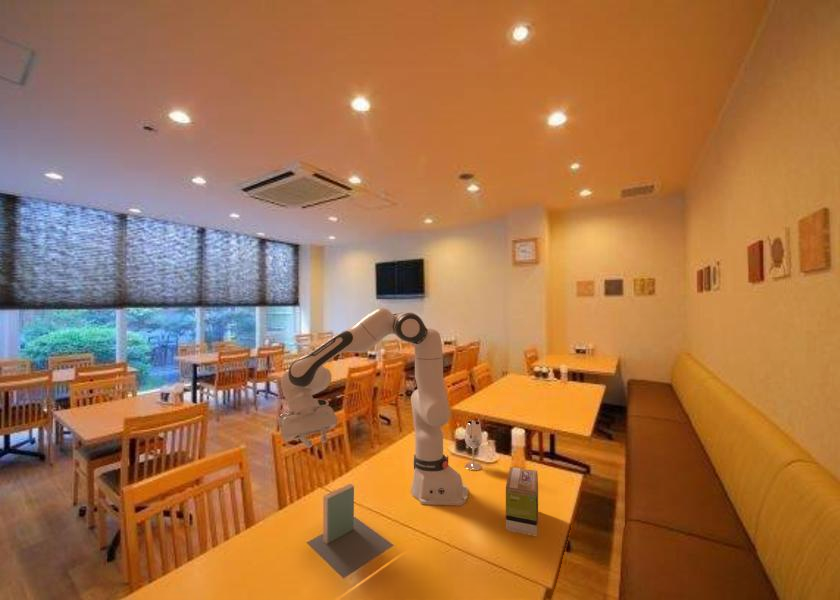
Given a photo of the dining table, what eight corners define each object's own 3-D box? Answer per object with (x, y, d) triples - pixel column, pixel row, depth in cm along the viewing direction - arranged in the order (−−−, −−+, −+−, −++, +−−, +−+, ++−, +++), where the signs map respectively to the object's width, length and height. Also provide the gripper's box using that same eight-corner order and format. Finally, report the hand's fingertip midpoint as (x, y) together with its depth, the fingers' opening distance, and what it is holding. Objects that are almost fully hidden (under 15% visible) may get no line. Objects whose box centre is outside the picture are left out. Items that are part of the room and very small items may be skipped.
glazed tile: (323, 540, 109) (323, 495, 109) (350, 526, 117) (350, 483, 117) (327, 544, 108) (327, 498, 108) (354, 529, 115) (354, 486, 115)
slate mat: (306, 544, 109) (306, 542, 109) (354, 518, 122) (354, 516, 122) (343, 580, 95) (343, 578, 95) (393, 546, 108) (393, 545, 108)
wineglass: (462, 463, 163) (463, 419, 163) (479, 462, 164) (479, 419, 164) (466, 471, 155) (466, 425, 155) (484, 470, 156) (484, 425, 156)
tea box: (509, 505, 130) (509, 465, 130) (538, 511, 126) (538, 469, 126) (505, 530, 116) (505, 485, 116) (537, 537, 112) (537, 491, 112)
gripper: (278, 411, 119) (291, 448, 113) (331, 399, 134) (346, 431, 127) (272, 421, 122) (285, 458, 116) (324, 408, 137) (338, 440, 130)
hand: (317, 444), depth 122 cm, fingers open, 4 cm apart
